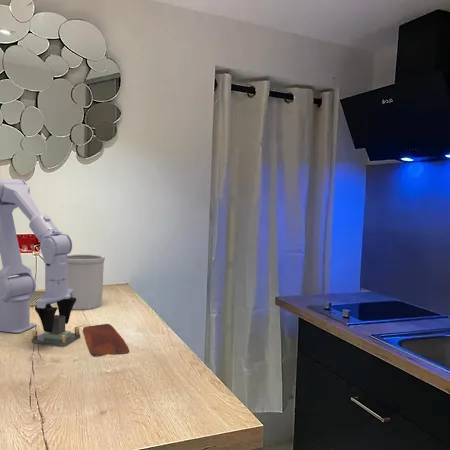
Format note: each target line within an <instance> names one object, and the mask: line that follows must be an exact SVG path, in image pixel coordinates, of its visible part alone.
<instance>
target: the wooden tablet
mask: <svg viewBox="0 0 450 450" xmlns="http://www.w3.org/2000/svg"><path fill="white" fill-rule="evenodd" d="M82 333H83V336H84V338H85V341H86V344H87V347H88V349H89V352H90V354H91V355H92V357H94V358H96V357H97V358H98V357H103V356H107V355H114V356H116V355H117V356H118V354H119V355H127V354H129V353H130V348H129V345H127V343H126V341H125V340H124V338H123V337H122V336H121V334H120V333H119V332H118V331H117V330H116V329H115V328H114V327H113V325H111V324H110V323H103V324H95V325H89V326H84V327H83V328H82Z"/></svg>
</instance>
